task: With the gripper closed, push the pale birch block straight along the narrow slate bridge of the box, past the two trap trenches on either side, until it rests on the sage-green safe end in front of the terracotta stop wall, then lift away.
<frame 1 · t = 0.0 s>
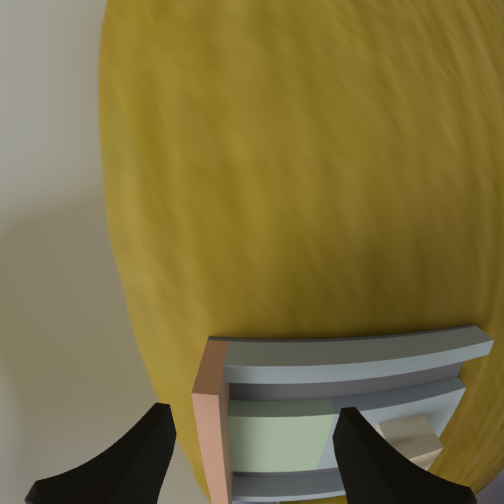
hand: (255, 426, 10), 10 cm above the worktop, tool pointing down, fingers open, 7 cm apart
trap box: (342, 425, 23), on the worktop
birch block: (393, 434, 20), point 2 cm above the worktop, touching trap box
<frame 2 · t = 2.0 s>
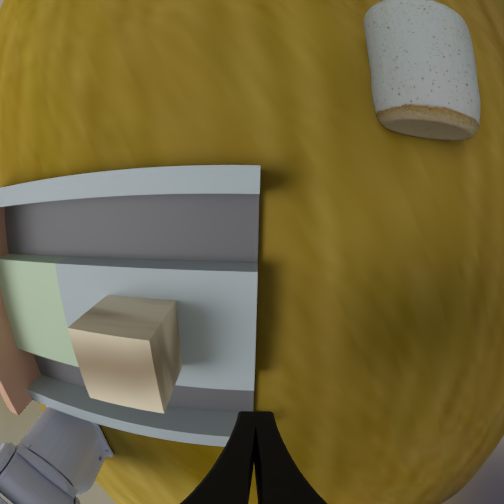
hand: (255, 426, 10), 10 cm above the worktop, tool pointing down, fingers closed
ceramic mug: (413, 88, 16), on the worktop
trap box: (102, 310, 20), on the worktop
birch block: (144, 331, 18), point 2 cm above the worktop, touching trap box
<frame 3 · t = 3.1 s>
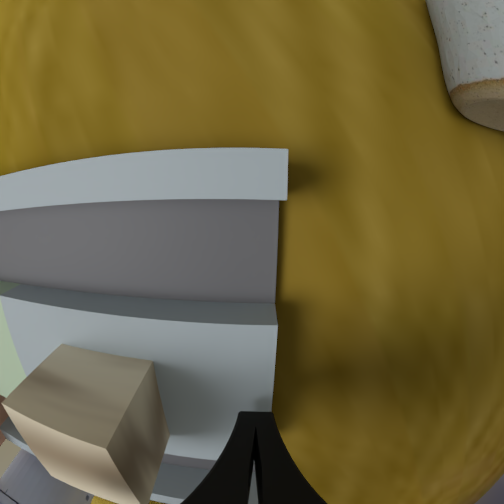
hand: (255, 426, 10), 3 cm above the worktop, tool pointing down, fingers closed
ceramic mug: (474, 67, 10), on the worktop
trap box: (66, 352, 14), on the worktop
birch block: (114, 393, 11), point 2 cm above the worktop, touching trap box
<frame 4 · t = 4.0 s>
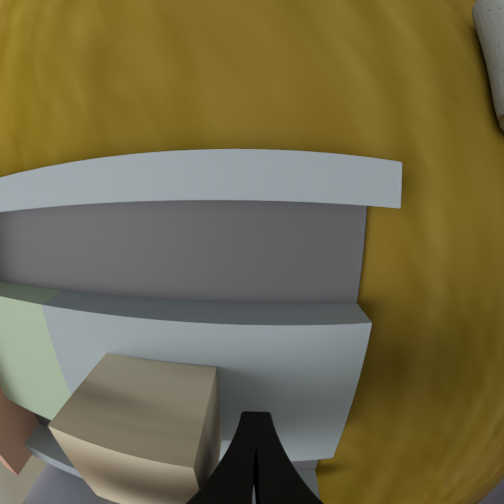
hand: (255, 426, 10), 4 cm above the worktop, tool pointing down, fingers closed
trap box: (116, 364, 14), on the worktop
birch block: (165, 403, 11), point 3 cm above the worktop, touching gripper, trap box
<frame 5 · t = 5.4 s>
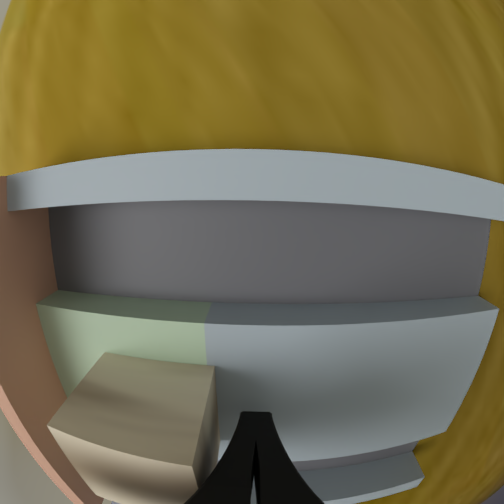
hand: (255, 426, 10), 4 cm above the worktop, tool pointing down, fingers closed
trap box: (260, 378, 14), on the worktop
birch block: (164, 402, 11), point 3 cm above the worktop, touching gripper, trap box
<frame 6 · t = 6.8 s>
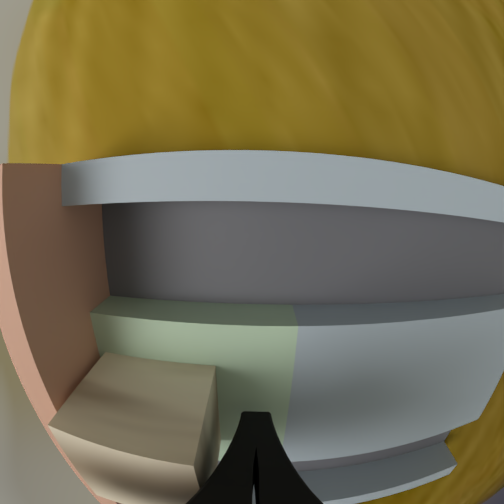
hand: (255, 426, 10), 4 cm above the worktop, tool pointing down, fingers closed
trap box: (326, 376, 14), on the worktop
birch block: (164, 402, 11), point 3 cm above the worktop, touching gripper, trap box
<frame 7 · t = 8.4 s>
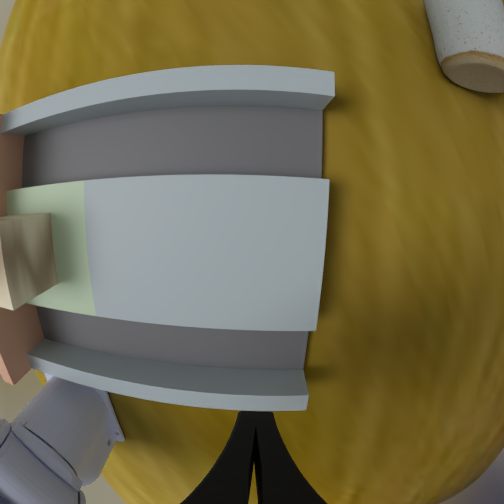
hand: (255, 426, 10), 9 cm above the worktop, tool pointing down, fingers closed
ceramic mug: (459, 53, 14), on the worktop
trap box: (132, 244, 18), on the worktop
birch block: (31, 248, 16), point 2 cm above the worktop, touching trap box
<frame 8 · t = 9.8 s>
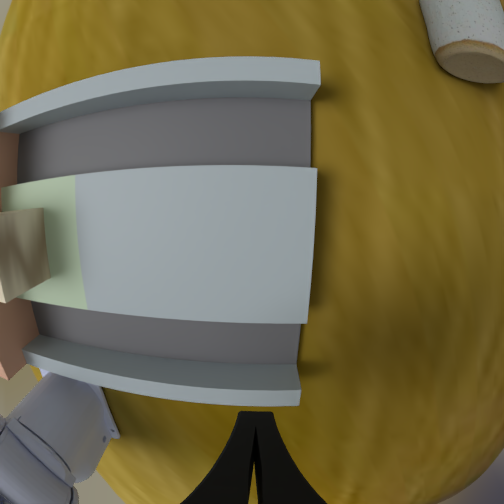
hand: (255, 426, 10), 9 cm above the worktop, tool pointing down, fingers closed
ceramic mug: (454, 44, 14), on the worktop
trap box: (123, 238, 18), on the worktop
birch block: (25, 243, 16), point 2 cm above the worktop, touching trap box
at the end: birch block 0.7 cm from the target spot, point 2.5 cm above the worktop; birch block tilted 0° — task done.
